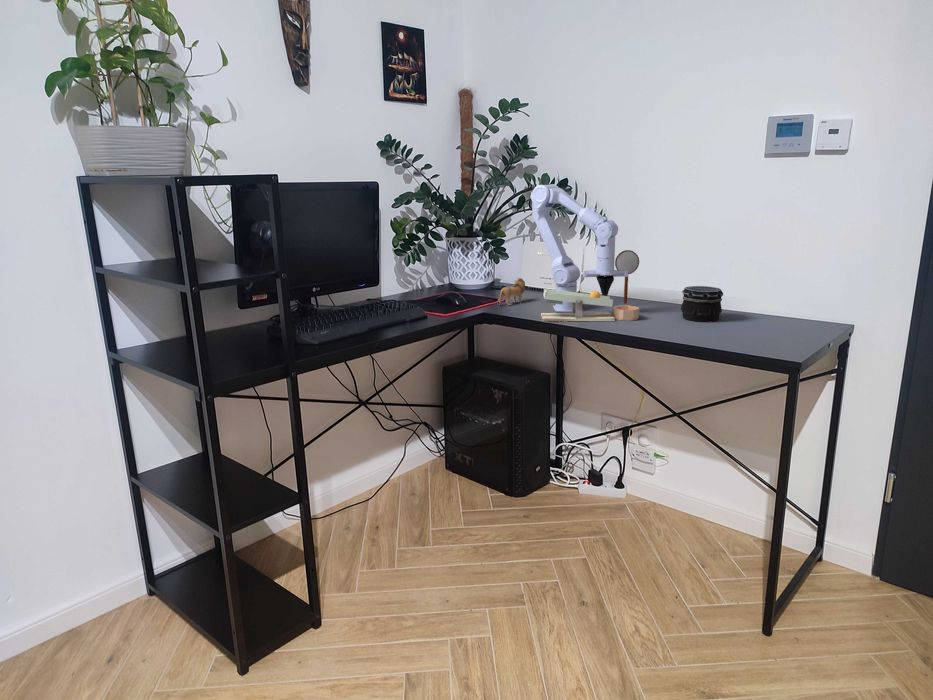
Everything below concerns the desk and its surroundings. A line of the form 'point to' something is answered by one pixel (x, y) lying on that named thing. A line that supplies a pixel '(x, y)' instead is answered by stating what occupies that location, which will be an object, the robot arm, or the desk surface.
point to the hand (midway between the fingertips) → (604, 298)
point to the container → (701, 303)
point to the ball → (595, 294)
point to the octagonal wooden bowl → (626, 312)
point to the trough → (575, 298)
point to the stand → (577, 315)
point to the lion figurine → (513, 291)
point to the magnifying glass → (627, 266)
